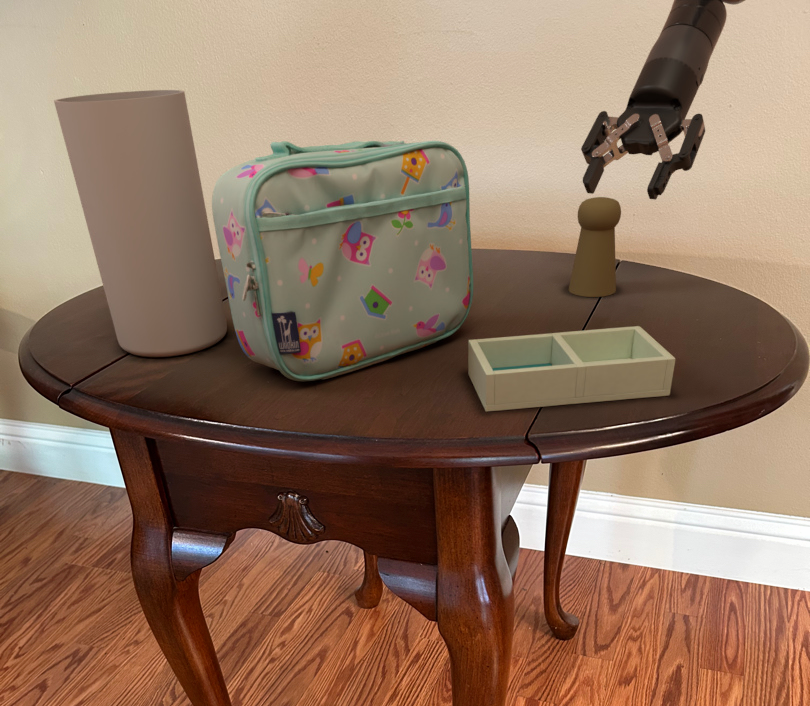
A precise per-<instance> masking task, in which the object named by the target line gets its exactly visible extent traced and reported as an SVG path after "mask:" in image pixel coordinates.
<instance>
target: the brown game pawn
mask: <svg viewBox="0 0 810 706" xmlns="http://www.w3.org/2000/svg"><path fill="white" fill-rule="evenodd" d="M577 209H578V210H577V222H578V224H579V226H580V232H579V237H578V240H577V245H576V251H575V256H574V261H573V265H572V269H571V270H572V271H571V274H570V280H569V284H568V285H569V286H568V292H569V293H570V294H572V295H574V296H579V297H588V298H599V297H600V298H601V297H608V296H611V295H613V294H615V293H616V292H617V273H616V270H617V269H616V268H617V267H616V266H617V265H616V227H617V226H618V224H619V222H620V220H621V216H622V207H621V204H620V202H619V201H618V200H617V199H615V198H611V197H606V196H605V197H604V196H597V197H596V196H595V197H590V198H586V199H584V200H583V201H582V202H581V203H580V204H579V206H578V208H577Z"/></svg>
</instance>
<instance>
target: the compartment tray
mask: <svg viewBox="0 0 810 706" xmlns="http://www.w3.org/2000/svg"><path fill="white" fill-rule="evenodd" d="M467 345H468V347H467V348H468V349H467V350H468V351H467V354H468V355H467V361H468V362H467V368H468V369H467V375H468V376H469V379H470V381H471V383H472V384H473V387H474V389H475V392H476V394H477V397H478V399H479V400H480V402H481V405H482V407H483V409H484V411H485V412H497V411H508V410H509V411H510V410H521V409H530V408H542V407H554V406H564V405H576V404H589V403H599V402H610V401H623V400H632V399H633V400H634V399H643V398H644V399H645V398H655V397H666V396H667V397H668V396H671V389H672V384H673V383H672V382H673V377H674V371H675V366H676V365H675V364H676V358H675V356H673V354H671V353H670V352H669V351H668V350H667V349H666V348H664V347H663V346H662V345H661V344H660V343H659V342H658V341H656V339H654V338H653V336H651V335H650V334H649V333H648V332H647V331H646V330H644V328H642V327H641V326H640V325H636V326H623V327H610V328H599V329H598V328H597V329H587V330H575V331H574V330H573V331H562V332H561V331H560V332H553V333H552V332H549V333H538V334H537V333H536V334H527V335H513V336H503V337H489V338H488V337H487V338H477V339H468V341H467Z"/></svg>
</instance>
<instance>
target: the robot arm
mask: <svg viewBox="0 0 810 706" xmlns="http://www.w3.org/2000/svg"><path fill="white" fill-rule="evenodd" d="M745 1H746V0H673V2H672V6H671V8H670V11H669V13H668V15H667V18H666V20H665V22H664V25H663V27H662V29H661V31H660V34H659V36H658V38H657V39H656V41H655V42H654V44H653V46H652V47H651V49H650V51H649V52H648V55H647V57H646V60H645V62H644V64H643V66H642V69H641V71H640V73H639V75H638V77H637V79H636V82H635V85H634V86H633V88H632V90H631V93H630V95H629V97H628V101H627V104H626V108H625V110H624V111H623V112H622V113H621V114H620V115H619V116H618V117H617V116H609V115H608V112H607V111H606V110H602V111H601V112H598V115H597V117H596V119H595V120H594V122H593V125H592V126H591V129H590V130H589V132H588V134H587V136H586V138H585V140H584V142H583V144H582V145H581V148H580V150H581V153H582V156H583V158H584V160H585V162H586V164H587V168H586V170H585V172H584V174H583V177H582V184H583V186H584V189H585V191H586V193H587V194H590V195H591V194H592V195H593V194H594V193H595V192H596V189H597V187H598V185H599V183H600V181H601V179H602V177H603V175H604V172H605V168H606V167H607V166H608V165H609V164H611V163H612V162H613V161H619V160H621V158H623V157H624V156H626V155H640V154H642V155H644V156H652V155H653V154H656V153H658V154H659V157H660V159H661V162H658V163H657V165H656V167H655V169H654V172H653V174H652V176H651V179H650V181H649V183H648V185H647V189H646V192H647V195H648V198H649V200H654V201H655V200H657V199H658V197H659V196H662V195H663V194H664V193H665V190H666V187H667V186H668V183H669V181H670V179H671V178H672V174H674V173H675V172H677V171H679V170H682V171H684V172H687V171H690V170H691V169H692V167H693V165H694V164H695V163H694V162H695V160H696V158H697V155H698V152H699V149H700V148H701V144H702V141H703V138H704V136H705V134H706V125H705V121H704V117H703V114H702V113H696V114H694V115H693V116H692V118H686V117H687V115H688V113H689V111H690V109H691V107H692V104H693V102H694V100H695V98H696V95H697V93H698V90H699V89H700V86H701V85H702V84H703V81H704V78H705V75H706V72H707V70H708V66H709V63H710V59H711V57H712V55H713V52H714V50H715V49H716V46H717V44H718V42H719V39H720V37H721V34H722V32H723V30H724V28H725V25H726V22H727V15H728V14H727V12H728V11H727V8H726V4H728V5H732V6H733V5H738V4H739V5H740V4H741V3H743V2H745ZM682 133H683V135H684V137H683V142H682V144H681V147H680V149H679V152H678V153H674V154H673V152H672V149H671V146H670V144H669V143H671V142H672V141H674V140H675V139H676V138H677V137H678V136H680V135H681V134H682ZM619 140H620V142H621V145H620V146H618V142H619Z"/></svg>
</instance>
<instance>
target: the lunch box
mask: <svg viewBox="0 0 810 706" xmlns="http://www.w3.org/2000/svg"><path fill="white" fill-rule="evenodd" d="M269 146H270V149H271V151H272V153H271V154H269V155H265V156H257V157H255V158H254V159H251V160H248V161H244V162H243V163H240V164H237V165H235V166H233V167H231V168H229V169H228V170H226V171H225V172H223V173H222V174H221V175H220V176H219V177H218V178H217V180H216V182H215V184H214V186H213V191H212V197H211V211H212V219H213V225H214V230H215V235H216V236H215V237H216V241H217V247H218V252H219V256H220V261H221V266H222V271H223V276H224V281H225V285H226V292H227V298H228V303H229V308H230V309H229V310H230V313H231V319H232V323H233V327H234V331H235V334H236V338H237V341H238V344H239V346H240V348H241V350H242V352H243V353H244V354H245V356H246V357H247V358H248V359H250V360H251V361H253V362H255V363H257V364H259V365H260V364H261V365H264V366H266V367H268V368H270V369H271V368H272V369H275V370H277V371H279V372H280V374H281V375H283V376H284V377H286V378H287V379H289V380H292V381H296V382H311V381H313V382H314V381H318V380H322V381H323V380H327V379H330V378H334V377H337V376H341V375H345V374H348V373H352V372H355V371H357V370H358V371H359V370H361V369H365V368H366V367H370V366H373V365H375V364H379V363H382V362H384V361H387V360H390V359H392V358H395V357H398V356H400V355H403V354H405V353H409V352H412V351H416V350H419V349H422V348H425V347H427V346H430V345H432V344H435V343H437V342H438V341H441V340H444V339H446V338H448V337H450V336H452V335H453V334H454V333H456V332H457V331H458V330H460V328H461V327H462V325H463V324H464V323H465V321H466V319H467V318H468V316H469V314H470V311H471V308H472V304H473V299H474V268H473V251H472V250H473V249H472V235H471V215H470V214H471V212H470V208H471V207H470V179H469V172H468V168H467V165H466V161H465V158H463V156H462V154H461V153H460V151H459V150H458V149H456V147H454V146H452V145H451V144H449V143H447V142H445V141H440V140H425V141H418V142H417V141H416V142H410V143H407V142H405V141H404V140H401V141H395V140H386V141H385V140H384V141H379V140H368V141H358V140H357V141H356V140H355V141H351V142H346V143H342V144H325V145H314V146H313V145H311V146H303V147H301V146H298V145H296V144H294V143H292V142H290V141H287V140H286V141H285V140H283V141H272V142H271V143H270V145H269Z"/></svg>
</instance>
